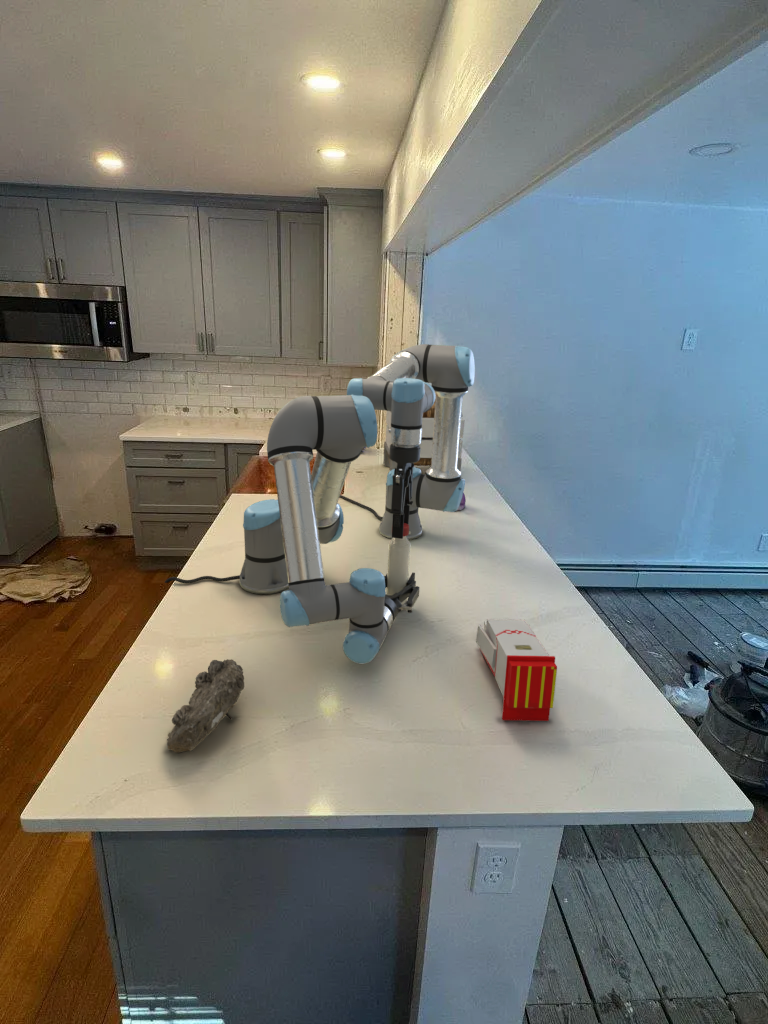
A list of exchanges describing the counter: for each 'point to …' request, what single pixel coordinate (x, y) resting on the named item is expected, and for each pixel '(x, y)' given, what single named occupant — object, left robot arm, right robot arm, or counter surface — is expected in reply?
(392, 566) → the bottle
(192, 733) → the fossil
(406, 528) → the cap
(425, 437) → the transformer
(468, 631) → the counter surface
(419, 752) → the counter surface
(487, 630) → the toy
